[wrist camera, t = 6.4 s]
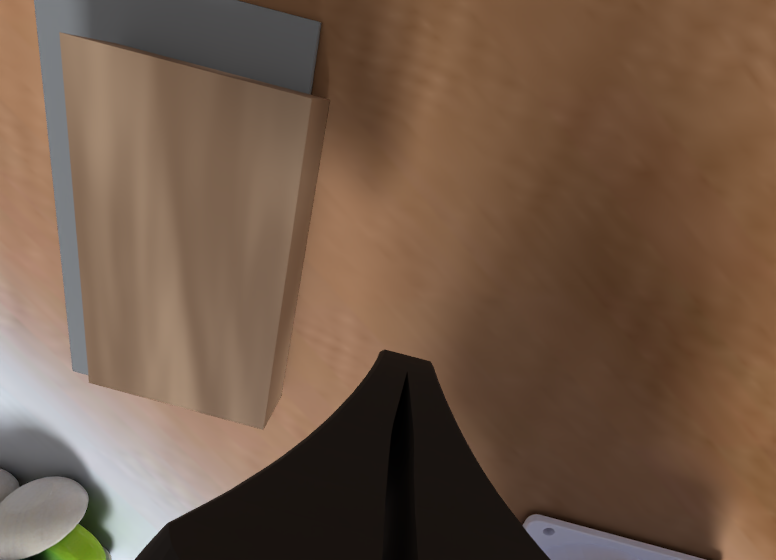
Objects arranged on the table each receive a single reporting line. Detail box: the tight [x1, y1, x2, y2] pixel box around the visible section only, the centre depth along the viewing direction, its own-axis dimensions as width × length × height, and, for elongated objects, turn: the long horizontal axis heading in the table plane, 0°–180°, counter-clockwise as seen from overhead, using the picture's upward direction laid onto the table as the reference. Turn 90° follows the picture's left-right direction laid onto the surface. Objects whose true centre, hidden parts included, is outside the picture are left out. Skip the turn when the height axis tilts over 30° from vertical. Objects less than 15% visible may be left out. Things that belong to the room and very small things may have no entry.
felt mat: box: [34, 0, 321, 375], centre depth 15 cm, size 9×16×1 cm, turn 167°
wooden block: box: [59, 32, 330, 430], centre depth 14 cm, size 2×12×7 cm
